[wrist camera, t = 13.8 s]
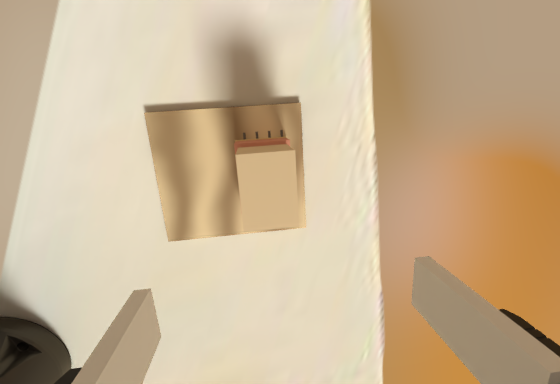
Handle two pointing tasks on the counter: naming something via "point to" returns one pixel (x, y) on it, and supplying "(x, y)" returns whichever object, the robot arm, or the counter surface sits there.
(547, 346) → the robot arm
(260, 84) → the counter surface
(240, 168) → the block
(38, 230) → the counter surface
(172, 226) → the board
